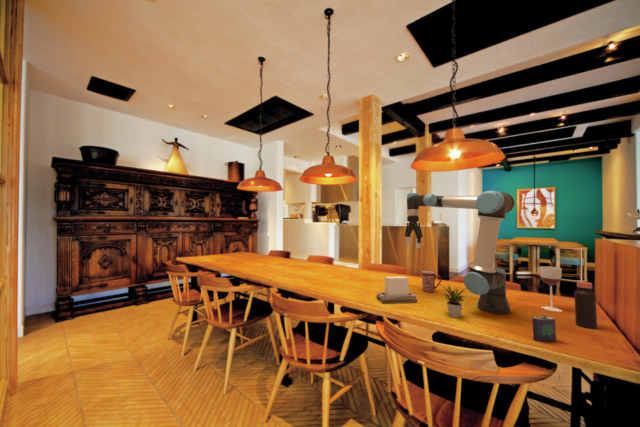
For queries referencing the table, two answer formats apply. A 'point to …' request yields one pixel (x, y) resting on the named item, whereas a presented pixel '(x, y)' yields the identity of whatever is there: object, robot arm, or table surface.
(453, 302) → the house plant
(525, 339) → the table surface
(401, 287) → the beige rectangular block
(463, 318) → the table surface
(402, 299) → the grey wooden tray
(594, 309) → the bottle
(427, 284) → the mug
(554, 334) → the flask
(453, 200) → the robot arm
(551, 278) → the wineglass
